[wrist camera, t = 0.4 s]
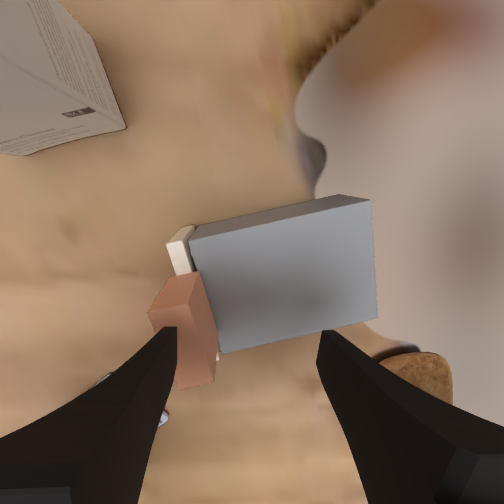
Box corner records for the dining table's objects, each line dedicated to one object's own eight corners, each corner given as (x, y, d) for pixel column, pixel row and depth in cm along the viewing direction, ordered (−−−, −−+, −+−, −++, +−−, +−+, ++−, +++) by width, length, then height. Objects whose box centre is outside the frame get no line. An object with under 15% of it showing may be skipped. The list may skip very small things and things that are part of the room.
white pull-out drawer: (328, 194, 20) (404, 209, 11) (338, 294, 23) (405, 368, 14) (175, 228, 20) (130, 271, 11) (206, 324, 23) (190, 419, 14)
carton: (338, 194, 20) (371, 199, 15) (347, 288, 23) (377, 318, 18) (198, 225, 20) (188, 241, 15) (224, 316, 23) (222, 353, 18)
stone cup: (332, 360, 25) (460, 594, 11) (441, 335, 26) (704, 536, 11) (344, 455, 30) (443, 706, 16) (435, 434, 30) (616, 664, 16)
